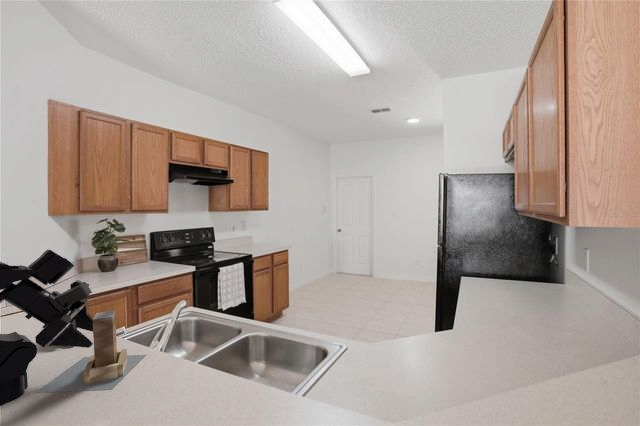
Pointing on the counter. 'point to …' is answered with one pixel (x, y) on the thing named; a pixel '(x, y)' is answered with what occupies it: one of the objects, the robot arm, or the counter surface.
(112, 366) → the socket
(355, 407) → the counter surface
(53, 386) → the board
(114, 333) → the post
